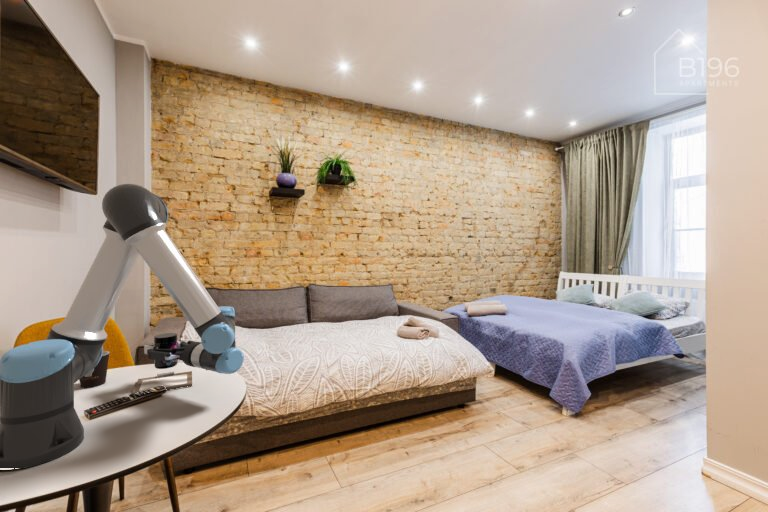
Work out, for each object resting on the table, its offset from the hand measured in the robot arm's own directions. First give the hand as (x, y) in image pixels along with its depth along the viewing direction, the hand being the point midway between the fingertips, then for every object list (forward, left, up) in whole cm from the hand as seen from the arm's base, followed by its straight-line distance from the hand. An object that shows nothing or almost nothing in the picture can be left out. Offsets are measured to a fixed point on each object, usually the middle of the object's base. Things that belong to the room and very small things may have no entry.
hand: (157, 346), depth 117 cm
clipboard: (-4, -2, -12) cm, 13 cm away
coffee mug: (+8, +20, -12) cm, 24 cm away
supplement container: (-4, -3, -6) cm, 8 cm away
